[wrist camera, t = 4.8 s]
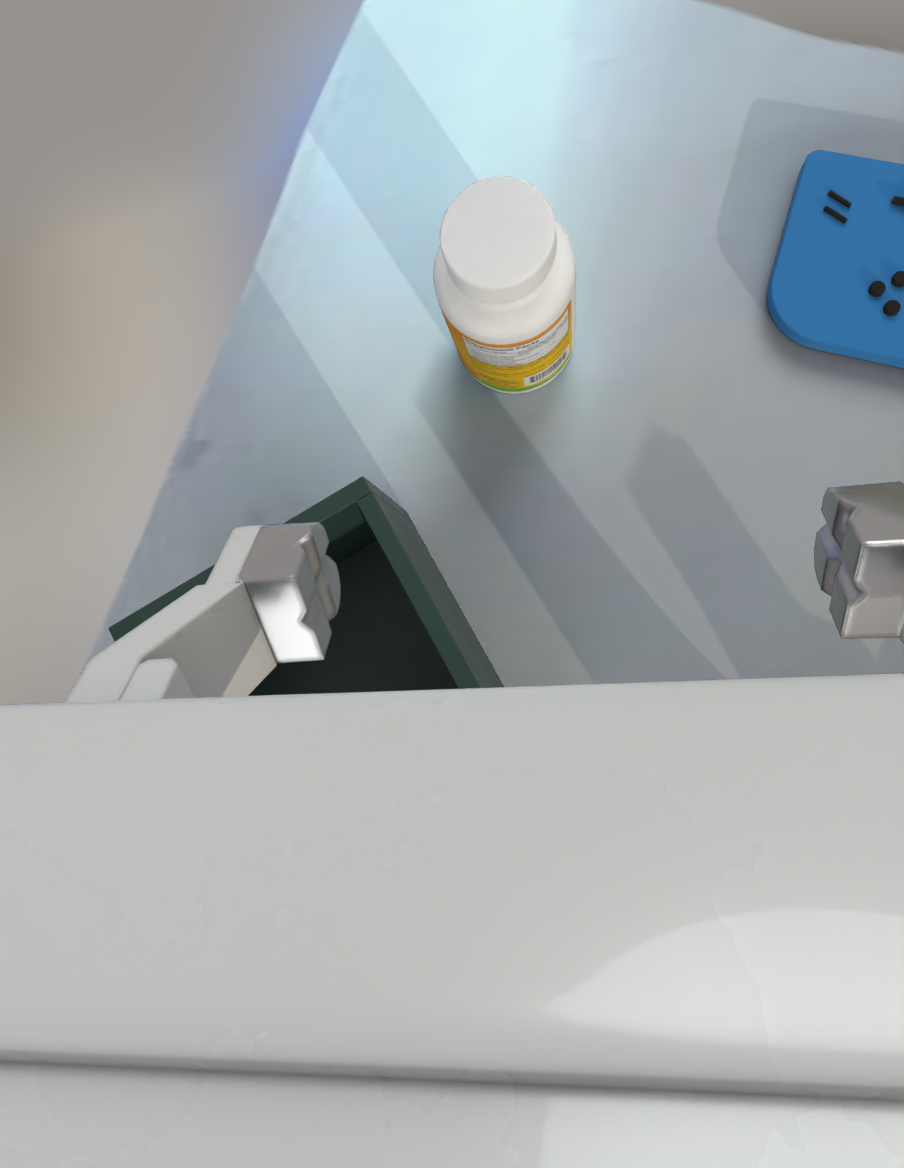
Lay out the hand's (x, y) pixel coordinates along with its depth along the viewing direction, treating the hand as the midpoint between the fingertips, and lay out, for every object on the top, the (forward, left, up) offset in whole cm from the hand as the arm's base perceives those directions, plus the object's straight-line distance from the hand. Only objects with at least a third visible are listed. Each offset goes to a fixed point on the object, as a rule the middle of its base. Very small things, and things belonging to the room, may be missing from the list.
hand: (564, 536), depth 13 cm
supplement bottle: (+12, -4, -23) cm, 26 cm away
